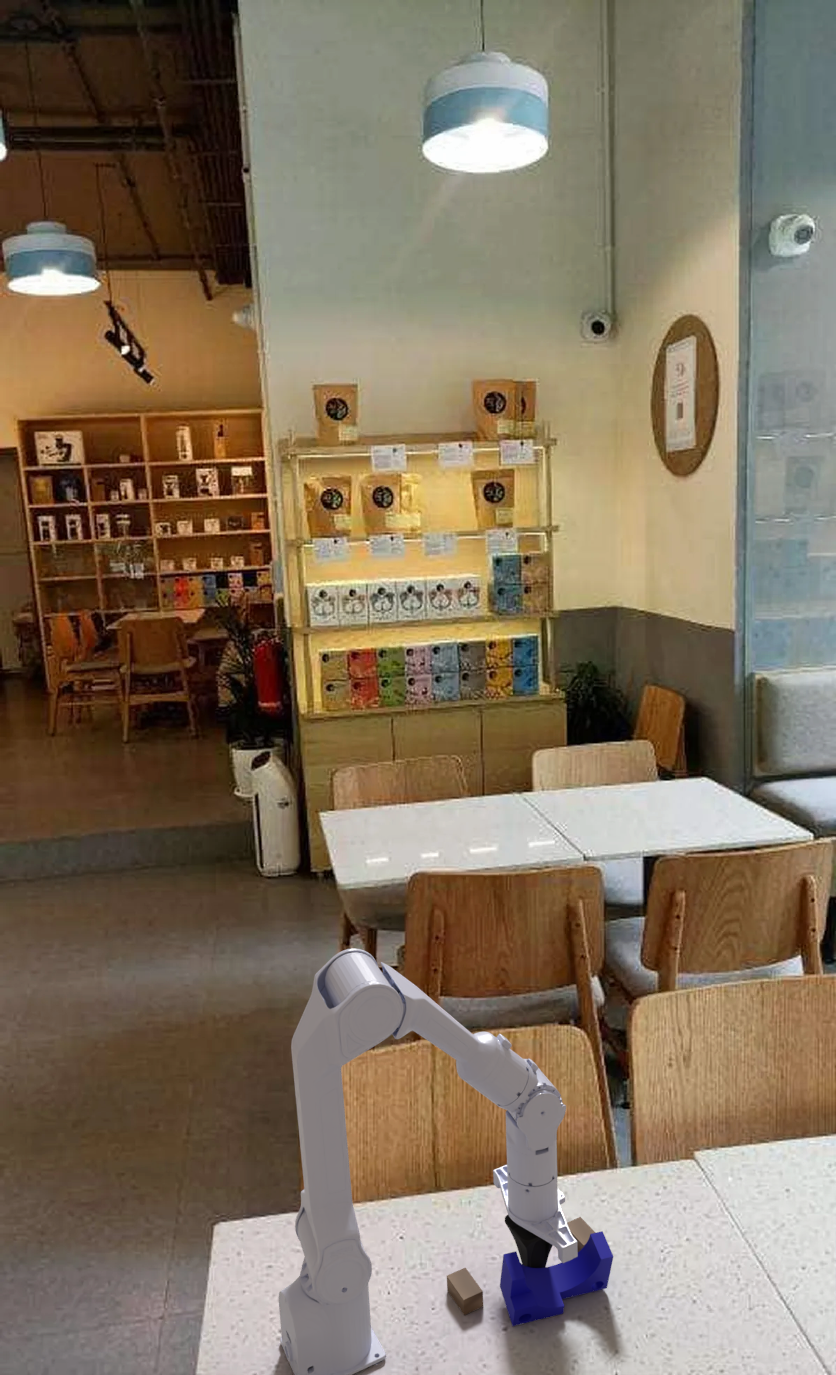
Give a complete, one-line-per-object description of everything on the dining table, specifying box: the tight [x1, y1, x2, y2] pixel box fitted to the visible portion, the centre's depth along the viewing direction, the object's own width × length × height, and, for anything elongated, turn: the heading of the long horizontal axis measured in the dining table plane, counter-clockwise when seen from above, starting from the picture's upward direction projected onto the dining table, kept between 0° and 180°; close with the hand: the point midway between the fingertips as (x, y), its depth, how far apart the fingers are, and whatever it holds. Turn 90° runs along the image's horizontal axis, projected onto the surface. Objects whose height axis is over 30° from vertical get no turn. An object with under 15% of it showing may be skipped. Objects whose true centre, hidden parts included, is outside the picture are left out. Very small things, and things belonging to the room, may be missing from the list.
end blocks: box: [446, 1216, 596, 1316], centre depth 113 cm, size 19×4×2 cm, turn 117°
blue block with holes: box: [499, 1230, 614, 1327], centre depth 107 cm, size 12×4×6 cm, turn 104°
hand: (534, 1273), depth 111 cm, fingers closed
